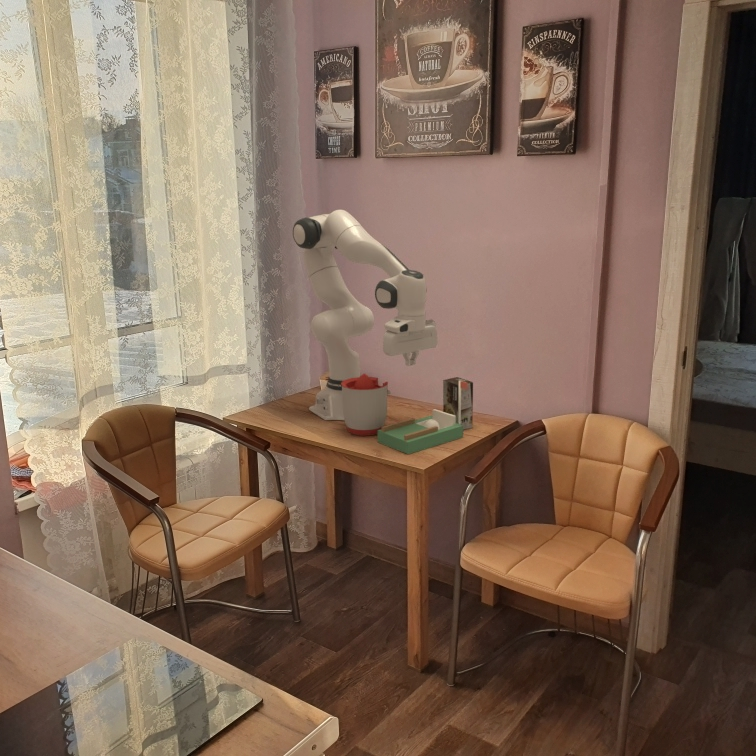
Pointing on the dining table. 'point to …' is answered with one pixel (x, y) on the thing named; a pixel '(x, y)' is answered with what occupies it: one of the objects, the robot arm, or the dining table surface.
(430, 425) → the ball
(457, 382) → the coffee box
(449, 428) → the mini golf course
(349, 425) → the citrus juicer
